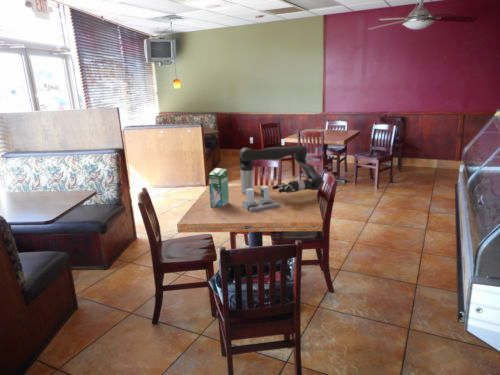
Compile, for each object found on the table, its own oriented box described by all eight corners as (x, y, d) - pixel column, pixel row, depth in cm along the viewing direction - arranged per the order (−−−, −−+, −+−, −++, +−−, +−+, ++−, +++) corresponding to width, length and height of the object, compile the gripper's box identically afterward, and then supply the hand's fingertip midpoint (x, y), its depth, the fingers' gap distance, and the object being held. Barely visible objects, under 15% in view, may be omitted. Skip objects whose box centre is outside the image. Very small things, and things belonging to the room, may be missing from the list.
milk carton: (210, 207, 238) (208, 170, 231) (217, 203, 246) (215, 167, 239) (222, 209, 234) (220, 171, 227) (229, 204, 242) (227, 168, 235)
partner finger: (246, 206, 233) (245, 189, 230) (252, 205, 235) (252, 187, 232) (248, 208, 230) (248, 190, 226) (255, 207, 231) (254, 189, 228)
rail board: (240, 207, 236) (240, 201, 235) (270, 202, 245) (270, 195, 244) (251, 215, 222) (251, 208, 221) (282, 209, 231) (282, 202, 230)
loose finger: (260, 204, 237) (260, 186, 234) (266, 202, 239) (266, 185, 236) (263, 205, 234) (263, 188, 230) (269, 204, 236) (269, 187, 232)
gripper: (290, 178, 249) (270, 181, 242) (302, 183, 237) (281, 186, 230) (290, 188, 251) (270, 192, 245) (302, 194, 239) (281, 197, 232)
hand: (275, 189), depth 237 cm, fingers open, 8 cm apart
